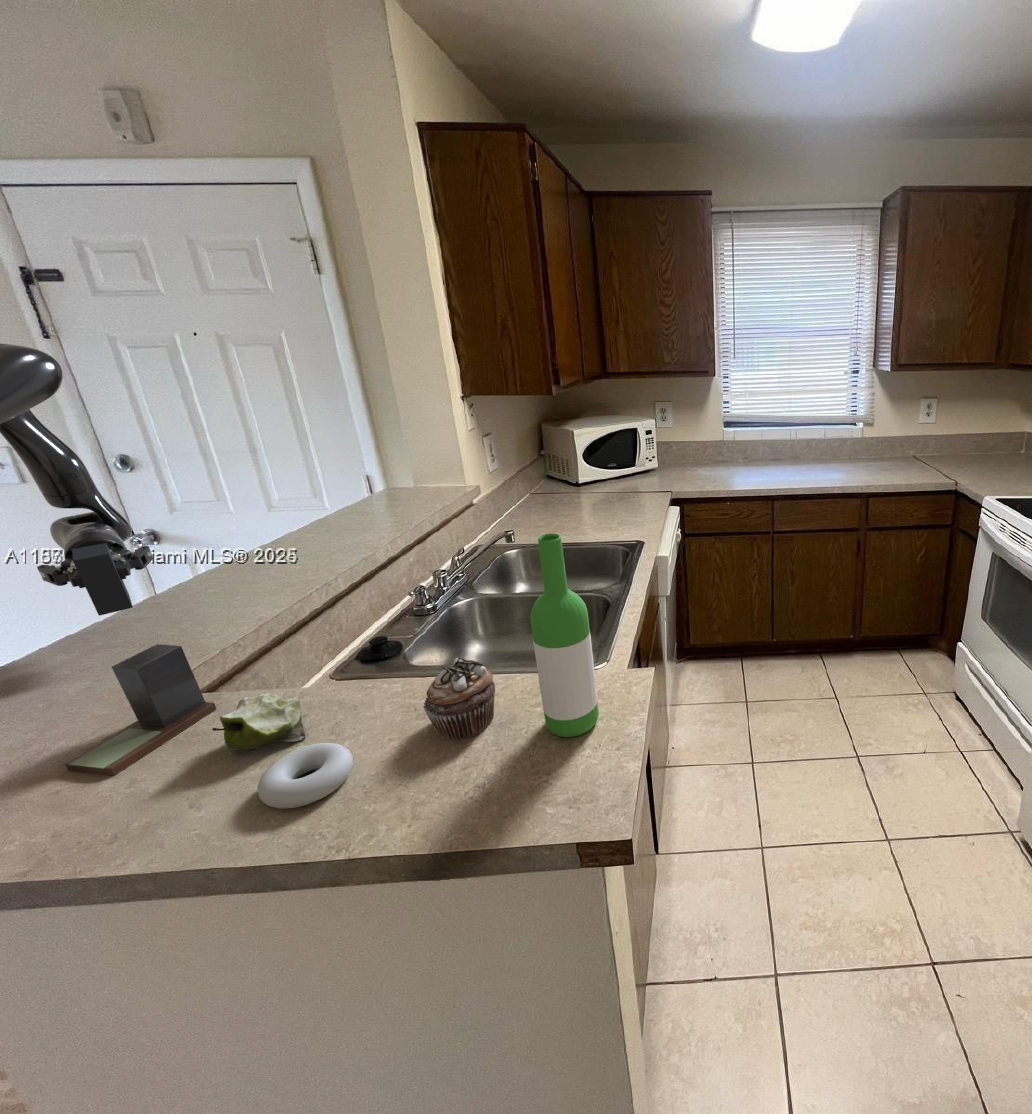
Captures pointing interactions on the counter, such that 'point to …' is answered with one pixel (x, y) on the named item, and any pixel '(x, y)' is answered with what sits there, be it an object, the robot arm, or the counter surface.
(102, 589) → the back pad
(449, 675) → the cupcake
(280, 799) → the donut
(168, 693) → the grey block on board
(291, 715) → the fruit
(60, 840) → the counter surface
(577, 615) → the wine bottle
